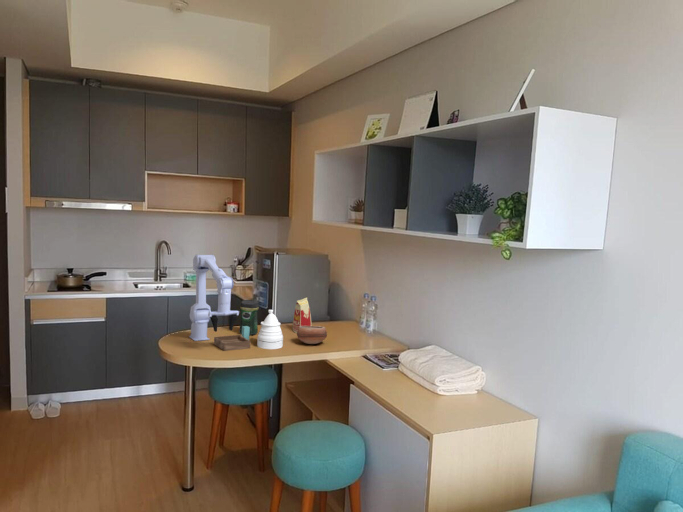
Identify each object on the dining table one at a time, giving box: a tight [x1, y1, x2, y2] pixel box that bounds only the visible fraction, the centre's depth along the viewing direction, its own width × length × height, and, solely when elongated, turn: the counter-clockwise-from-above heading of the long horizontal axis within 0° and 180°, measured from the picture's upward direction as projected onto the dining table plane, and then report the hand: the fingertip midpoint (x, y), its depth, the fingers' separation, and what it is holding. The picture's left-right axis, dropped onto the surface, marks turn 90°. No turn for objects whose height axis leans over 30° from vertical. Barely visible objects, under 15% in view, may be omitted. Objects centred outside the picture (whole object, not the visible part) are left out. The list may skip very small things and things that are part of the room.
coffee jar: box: [238, 299, 260, 336], centre depth 289 cm, size 10×8×19 cm
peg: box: [241, 326, 250, 341], centre depth 276 cm, size 3×3×7 cm
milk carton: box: [292, 297, 312, 334], centre depth 301 cm, size 9×9×20 cm
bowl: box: [296, 325, 328, 345], centre depth 276 cm, size 16×16×10 cm
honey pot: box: [256, 309, 284, 350], centre depth 267 cm, size 13×13×18 cm
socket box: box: [213, 334, 251, 352], centre depth 262 cm, size 14×14×4 cm
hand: (223, 330), depth 251 cm, fingers open, 7 cm apart
